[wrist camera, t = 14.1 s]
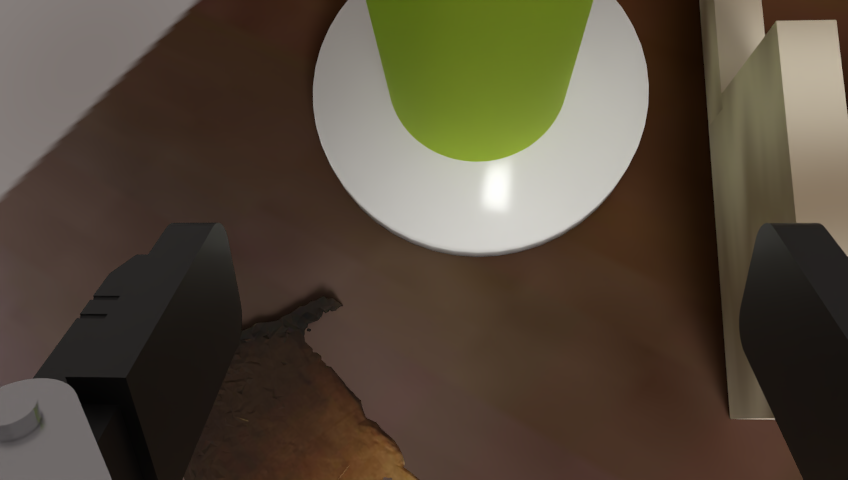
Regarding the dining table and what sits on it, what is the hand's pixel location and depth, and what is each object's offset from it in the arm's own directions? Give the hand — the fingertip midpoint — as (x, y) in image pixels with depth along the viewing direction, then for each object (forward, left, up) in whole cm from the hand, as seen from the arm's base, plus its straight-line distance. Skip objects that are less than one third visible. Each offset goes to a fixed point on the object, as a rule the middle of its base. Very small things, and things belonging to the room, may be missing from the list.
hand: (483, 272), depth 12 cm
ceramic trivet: (+4, +7, -13) cm, 15 cm away
